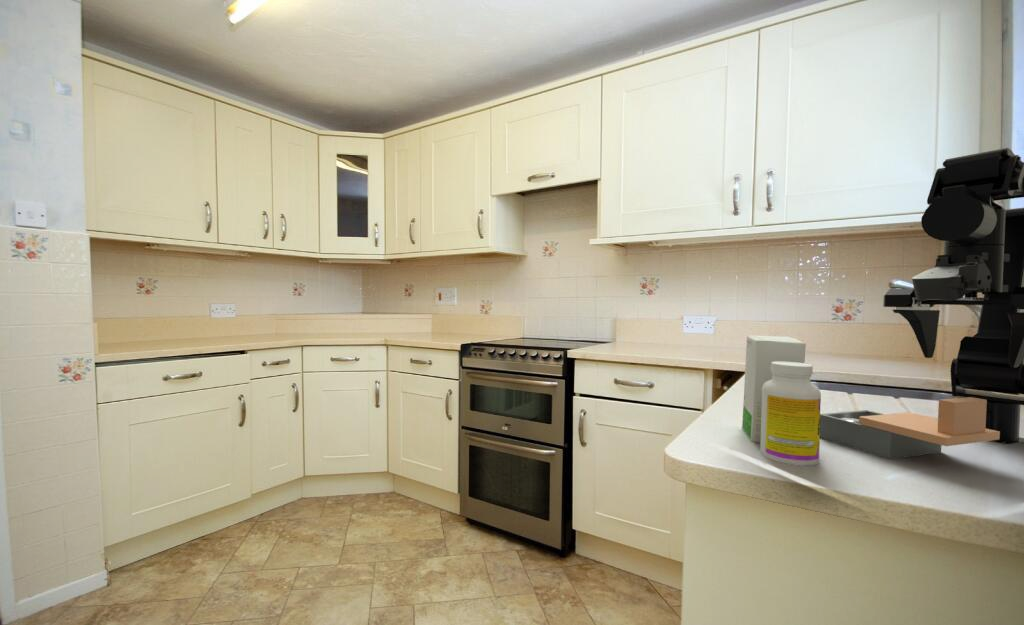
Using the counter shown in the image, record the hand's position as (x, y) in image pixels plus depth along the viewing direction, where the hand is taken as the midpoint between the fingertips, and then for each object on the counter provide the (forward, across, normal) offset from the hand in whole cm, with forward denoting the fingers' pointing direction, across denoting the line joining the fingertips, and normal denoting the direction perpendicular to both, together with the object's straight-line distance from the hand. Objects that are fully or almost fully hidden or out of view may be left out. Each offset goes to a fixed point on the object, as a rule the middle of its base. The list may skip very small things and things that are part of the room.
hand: (968, 362), depth 62 cm
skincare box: (+13, -13, -20) cm, 27 cm away
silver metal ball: (+12, -8, -10) cm, 18 cm away
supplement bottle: (+13, -6, -25) cm, 29 cm away
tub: (+13, -6, -8) cm, 16 cm away
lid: (+9, 0, -8) cm, 12 cm away
